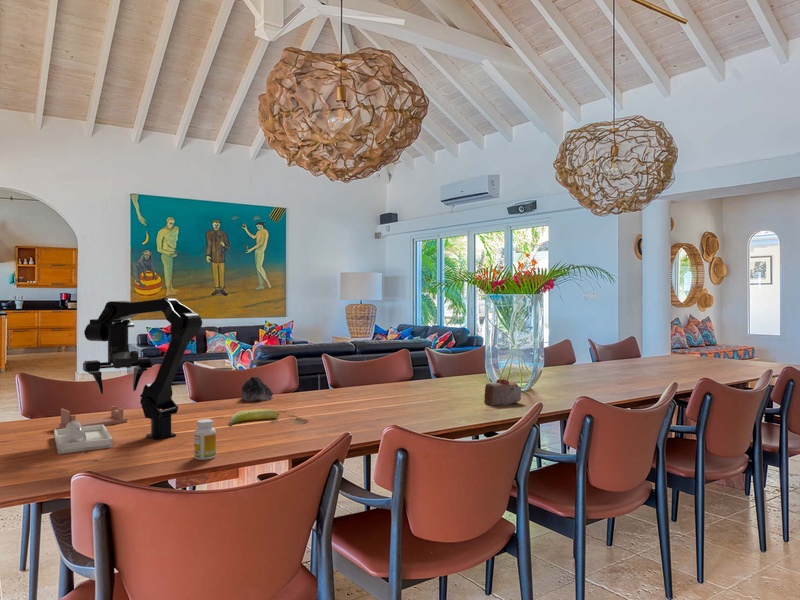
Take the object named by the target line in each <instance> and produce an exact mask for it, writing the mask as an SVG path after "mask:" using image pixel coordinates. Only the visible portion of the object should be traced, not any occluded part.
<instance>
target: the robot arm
mask: <svg viewBox="0 0 800 600" xmlns="http://www.w3.org/2000/svg"><path fill="white" fill-rule="evenodd" d="M157 312H159V313H160V312H162V313H163V314H164V317H165V319H166V321H167V322H169V324H170V329H169V331H170V337H171V339H170V342H169V344H168V347H167V349H166V352H165V354H164V356H163V359H162V362H161V365H160V367H159V370H158V372H157V374H156V376H155V379H154V381H153V382H151V383H147V384H145V385H144V386H143V390H142V392H141V394H140V395H139V397H141V398H140V399H139V400H140V401H139V403H140V405H141V409H142V411H143V415H144V418H145V419H150V433H146V437H148V438H151V439H153V440H160V439H165V438H171V437H176V436H177V433H174V432H172V415H175V414H176V415H177V413H178V410H179V406H178V405H177V403H176V402H175V401H174V400H173V398H172V396H173V388H172V385H173V381H174V378H175V376H176V374H177V372H178V369H179V367H180V364H181V362H182V358H183V357H184V354H185V353H186V349H187V347H188V344H189V343H190V342H191V341H192V340H193V339H194V338H195V337H196V336H197V335H198V333H199V331H200V330H201V328H202V326H203V319H202V318H201V316H200V315H199V313H197V312H194V310H192V309H191V308H190V307H187V306H186V305H184V304H182V303H181V302H180V301H179V300H178V299H176V298H175V297H161V298H158V299H150V300H142V301H126V300H116V301H114V300H113V301H112V300H111V301H108V302H106V304H105V305H104V308H103V309H102V311H101V313H100V315H99V316H98V318H96V319H95V318H93V319H89V323H88V324H87V325H86V327H85V329H84V337H85V339H86V340H88V341H90V342H107V361H106V362H105V361H104V362H101V361H100V360H95V359H94V360H84V361H83V362H82V370H83V371H84V372H86V373H88V374H89V375H92V377H93V378H94V380H95V382H96V385H97V388H98V389H99V392H100V394H101V395H103V393H104V388H103V387H104V386H103V379H102V376H103V375H102V371H100V370H101V369H112V368H114V369H121V368H124V369H125V368H127V369H130V368H132V367H133V376H132V377H133V380H132V391H133V392H136V391H137V387H138V384H139V381H140V379H141V377H142V376H143V374H144V372H145V371H148V370H149V369H150V368H151V369H152V368H153V360H152V359H151V358H149V357H139V351H138V350H131V351H130V348H129V347H130V346H129V328H134V327H135V324H134V323H133V322H131V321H130V319H131V318H134V317H136V316H139V315H140V314H149V313H151V314H152V313H157Z"/></svg>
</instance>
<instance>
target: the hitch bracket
mask: <svg viewBox="0 0 800 600" xmlns="http://www.w3.org/2000/svg"><path fill="white" fill-rule="evenodd" d="M110 415H111V416H105V417H98V418H89V419H83V420H78V422H79V423H80V424H81V426H82V427H84V426H94V425H103V424H104V426H105V427H106V426H110V425H117V424H124V423H128V418H127V417H125V416H124V408H118V409H117V405H114V406H113V405H112V406H110ZM71 421H76V414H71V411H69V410H67V409H65V408H63V407H62V408H61V409H60V423H59V424H58V429H65V428H66V426H67V424H68V423H69V422H71Z"/></svg>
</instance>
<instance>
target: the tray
mask: <svg viewBox="0 0 800 600" xmlns="http://www.w3.org/2000/svg"><path fill="white" fill-rule="evenodd" d="M82 428H83V431H84V433H85V435H86V441H84V442H76V443H70V440H69V437H68V434H67V431H66V428H65V429H61V428H58V429H57V428H56V429H54V430H53V432H54V433H53V438H54V442H55V446H56V447H55V448H56V451H57V454H58V455H60V454H69V453H76V452H84V451H93V450H101V449H109V448H113V444H114V443H113V437H112V436H111V434H110V432H109V431H108V429H107V427H106V425H105V426H104V424H103V425H94V426H84V427H82Z"/></svg>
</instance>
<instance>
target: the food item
mask: <svg viewBox="0 0 800 600" xmlns="http://www.w3.org/2000/svg"><path fill="white" fill-rule="evenodd" d="M521 394H522V389H521V387H520V386H519V385H518V383H517V382H515V381H509V380H508V379H503V378H502V379H501V378H500V379H497V380H496V382H489V383H486V384H485V389H484V400H483V402H484V404H485V405H489V406H491V405H492V406H494V405H495V406H508V405H513V404H512V403H515V404H517V403H518V402H520V401H521V400H522V395H521ZM492 406H491V407H492Z"/></svg>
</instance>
